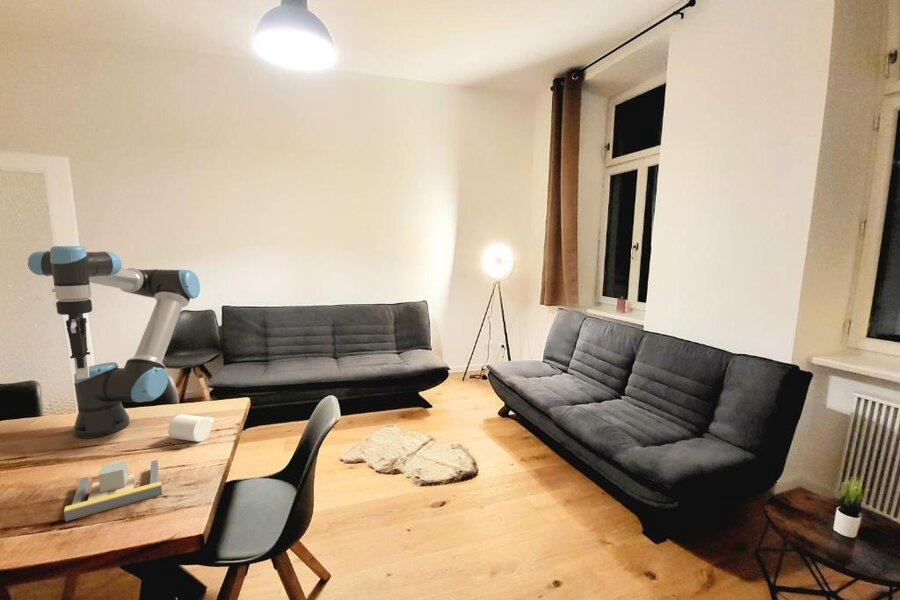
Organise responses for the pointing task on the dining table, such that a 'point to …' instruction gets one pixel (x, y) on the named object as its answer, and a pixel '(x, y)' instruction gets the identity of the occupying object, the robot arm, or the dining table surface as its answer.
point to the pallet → (96, 490)
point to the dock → (111, 497)
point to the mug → (190, 427)
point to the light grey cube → (113, 476)
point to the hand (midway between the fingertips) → (83, 377)
